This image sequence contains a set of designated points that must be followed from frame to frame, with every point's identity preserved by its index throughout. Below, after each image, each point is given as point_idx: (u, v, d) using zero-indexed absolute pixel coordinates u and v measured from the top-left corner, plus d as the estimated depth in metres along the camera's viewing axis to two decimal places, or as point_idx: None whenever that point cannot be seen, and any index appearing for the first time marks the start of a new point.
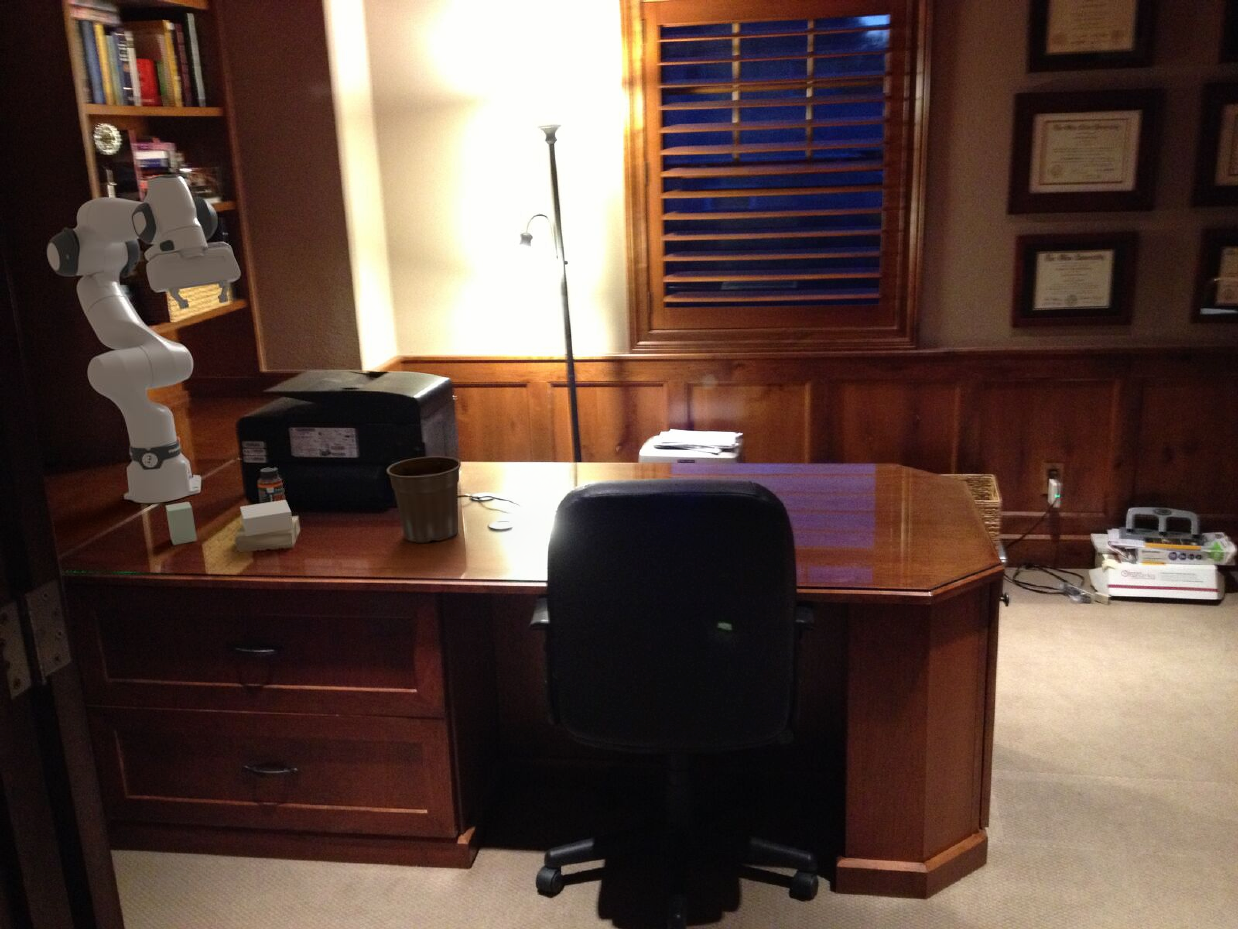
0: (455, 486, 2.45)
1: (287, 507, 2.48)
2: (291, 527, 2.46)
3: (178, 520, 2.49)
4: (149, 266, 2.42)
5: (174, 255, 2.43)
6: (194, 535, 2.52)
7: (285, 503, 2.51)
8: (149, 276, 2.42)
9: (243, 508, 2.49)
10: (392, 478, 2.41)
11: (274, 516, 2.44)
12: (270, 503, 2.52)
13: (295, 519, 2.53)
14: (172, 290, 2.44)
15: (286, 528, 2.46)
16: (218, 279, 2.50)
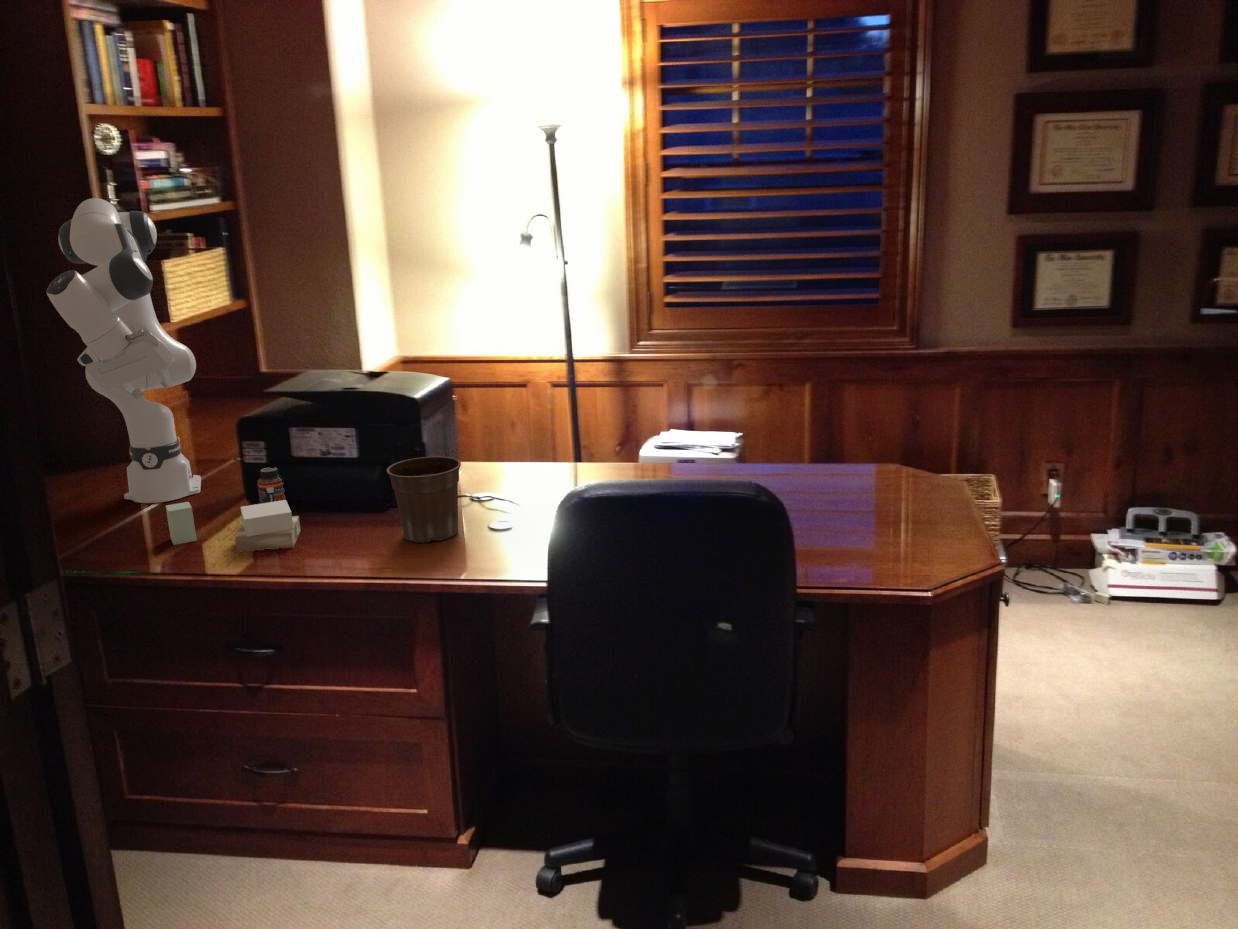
0: (455, 486, 2.45)
1: (287, 507, 2.48)
2: (291, 527, 2.46)
3: (178, 520, 2.49)
4: None
5: (98, 364, 2.36)
6: (194, 535, 2.52)
7: (285, 503, 2.51)
8: None
9: (243, 508, 2.49)
10: (392, 478, 2.41)
11: (275, 517, 2.44)
12: (270, 503, 2.52)
13: (295, 519, 2.53)
14: None
15: (286, 528, 2.46)
16: (149, 373, 2.37)
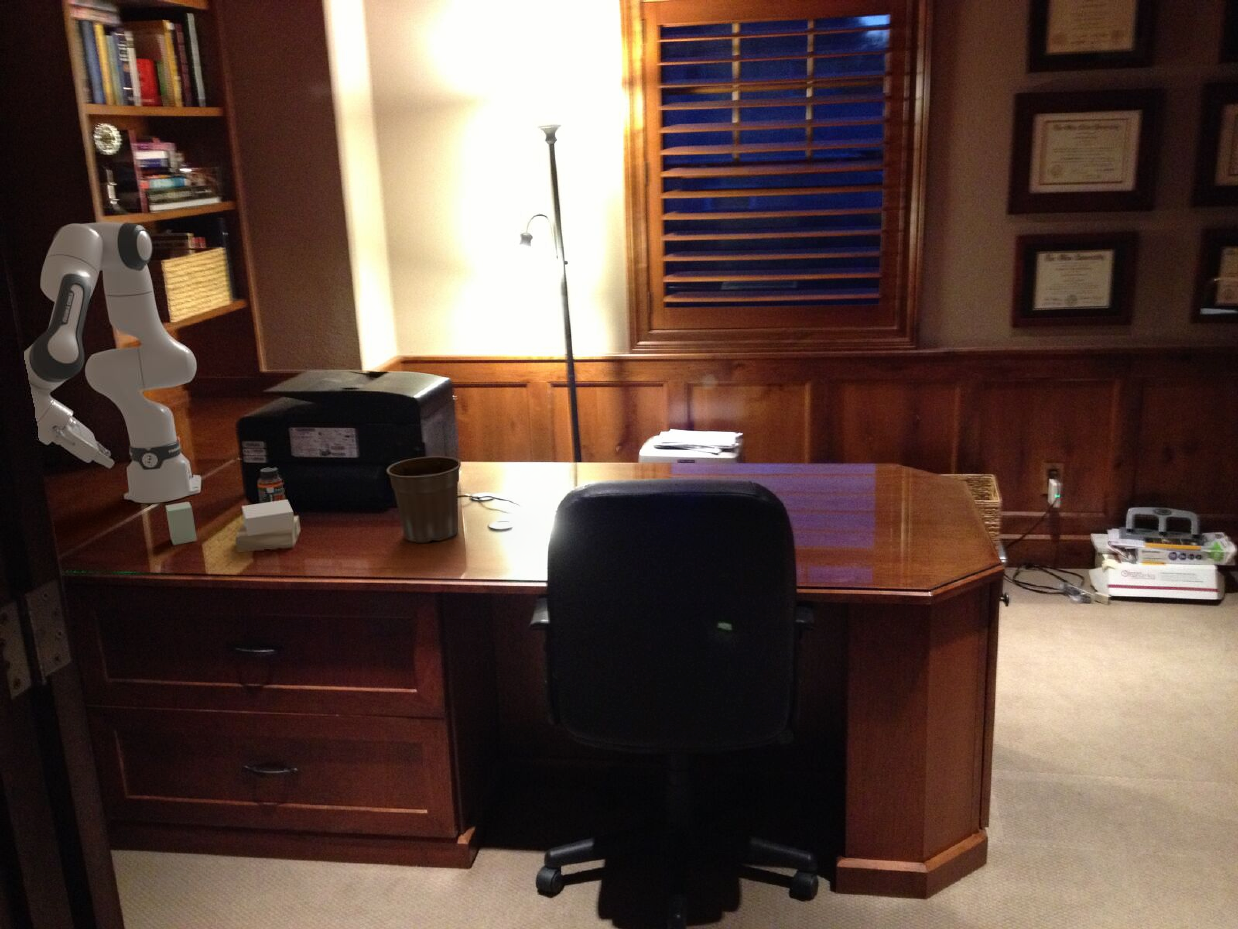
0: (455, 486, 2.45)
1: (289, 507, 2.48)
2: (293, 527, 2.46)
3: (178, 520, 2.49)
4: None
5: None
6: (194, 535, 2.52)
7: (287, 503, 2.51)
8: None
9: (245, 507, 2.49)
10: (392, 478, 2.41)
11: (276, 516, 2.44)
12: (272, 503, 2.52)
13: (295, 519, 2.53)
14: None
15: (288, 528, 2.46)
16: None
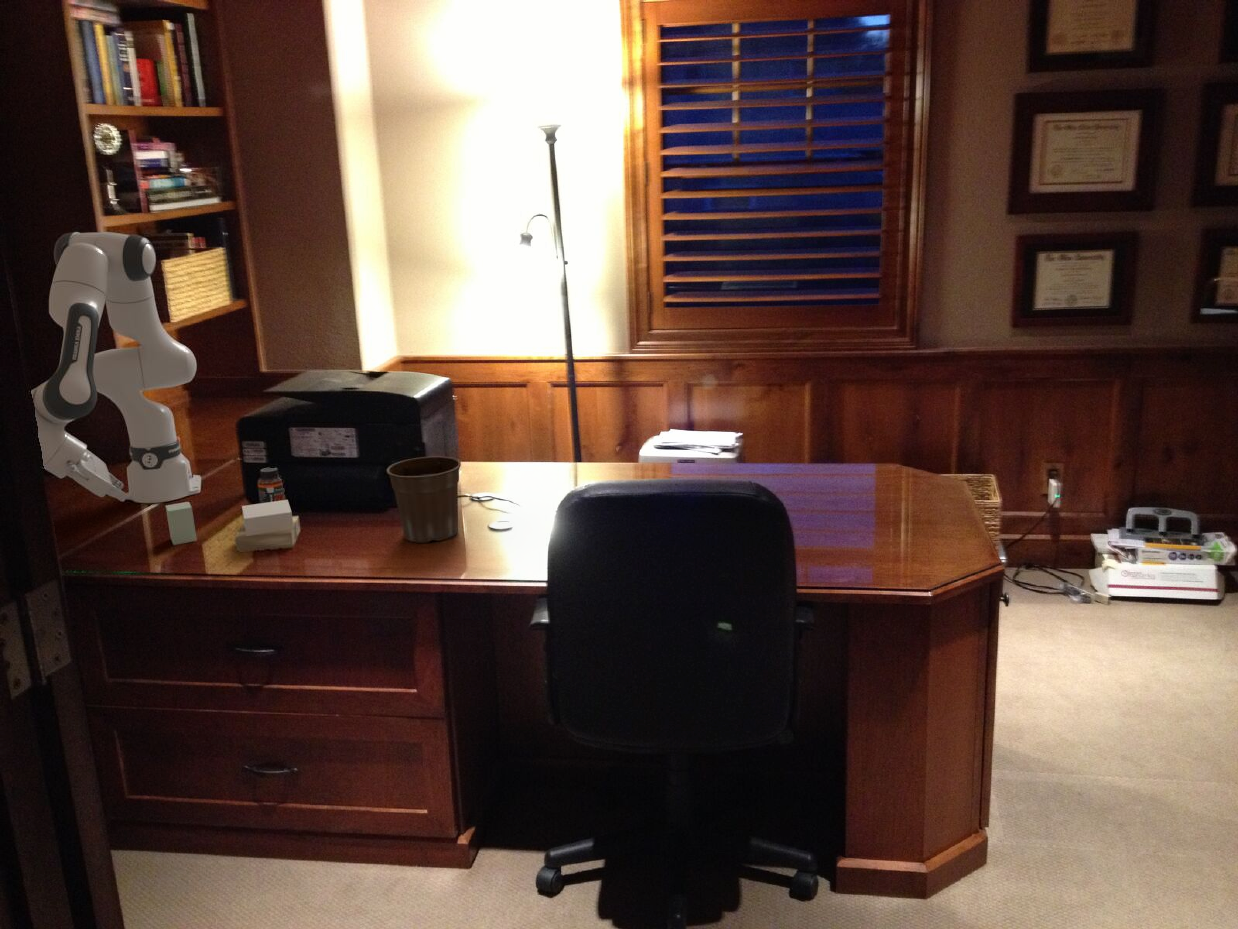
0: (455, 486, 2.45)
1: (288, 507, 2.48)
2: (291, 527, 2.46)
3: (178, 520, 2.49)
4: None
5: None
6: (194, 535, 2.52)
7: (286, 503, 2.51)
8: None
9: (245, 507, 2.49)
10: (392, 478, 2.41)
11: (275, 516, 2.44)
12: (272, 503, 2.52)
13: (295, 519, 2.53)
14: None
15: (286, 528, 2.46)
16: None
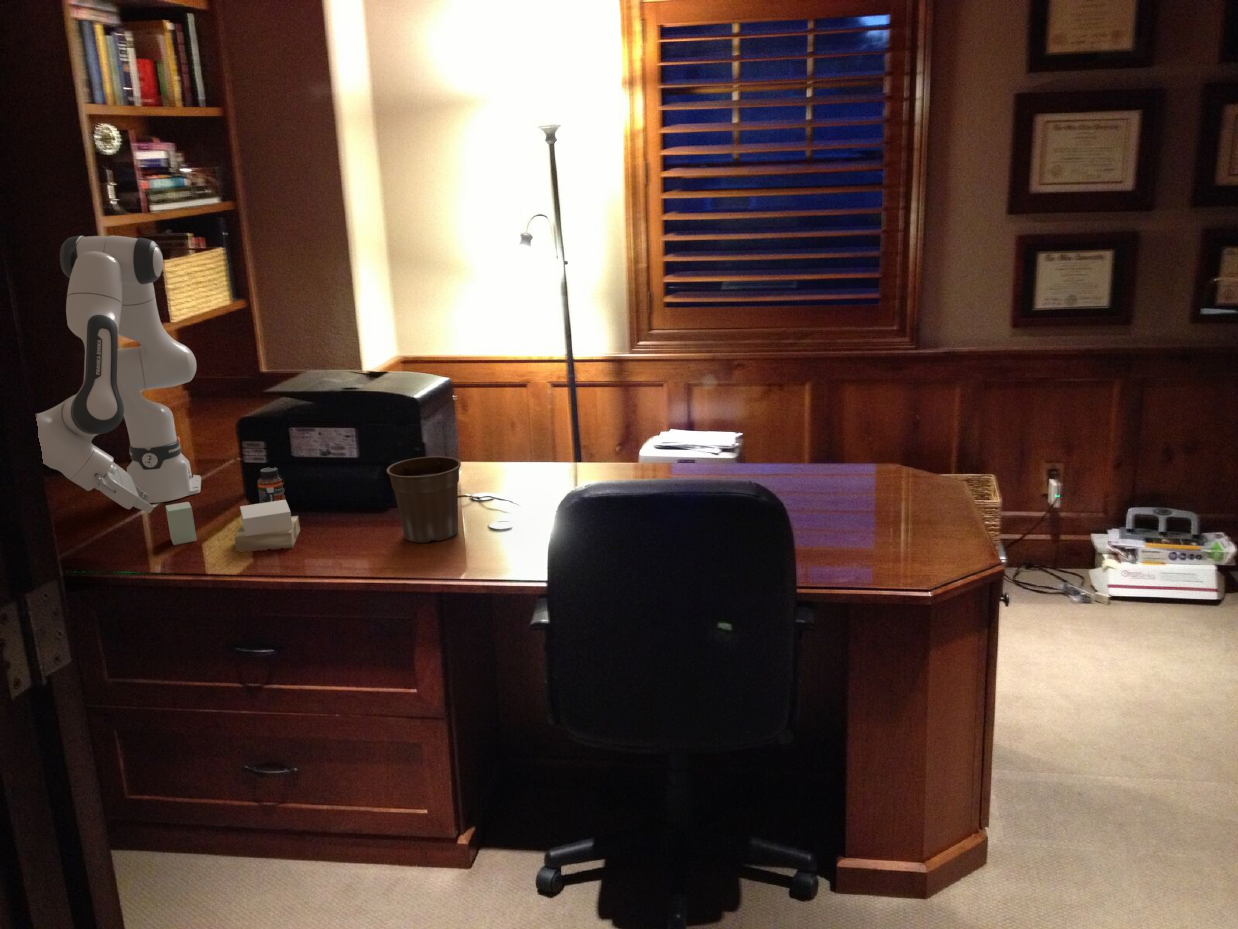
0: (455, 486, 2.45)
1: (286, 507, 2.49)
2: (290, 527, 2.46)
3: (178, 520, 2.49)
4: None
5: None
6: (194, 535, 2.52)
7: (285, 503, 2.52)
8: None
9: (243, 508, 2.49)
10: (392, 478, 2.41)
11: (274, 516, 2.44)
12: (270, 503, 2.52)
13: (295, 519, 2.53)
14: None
15: (285, 528, 2.46)
16: None
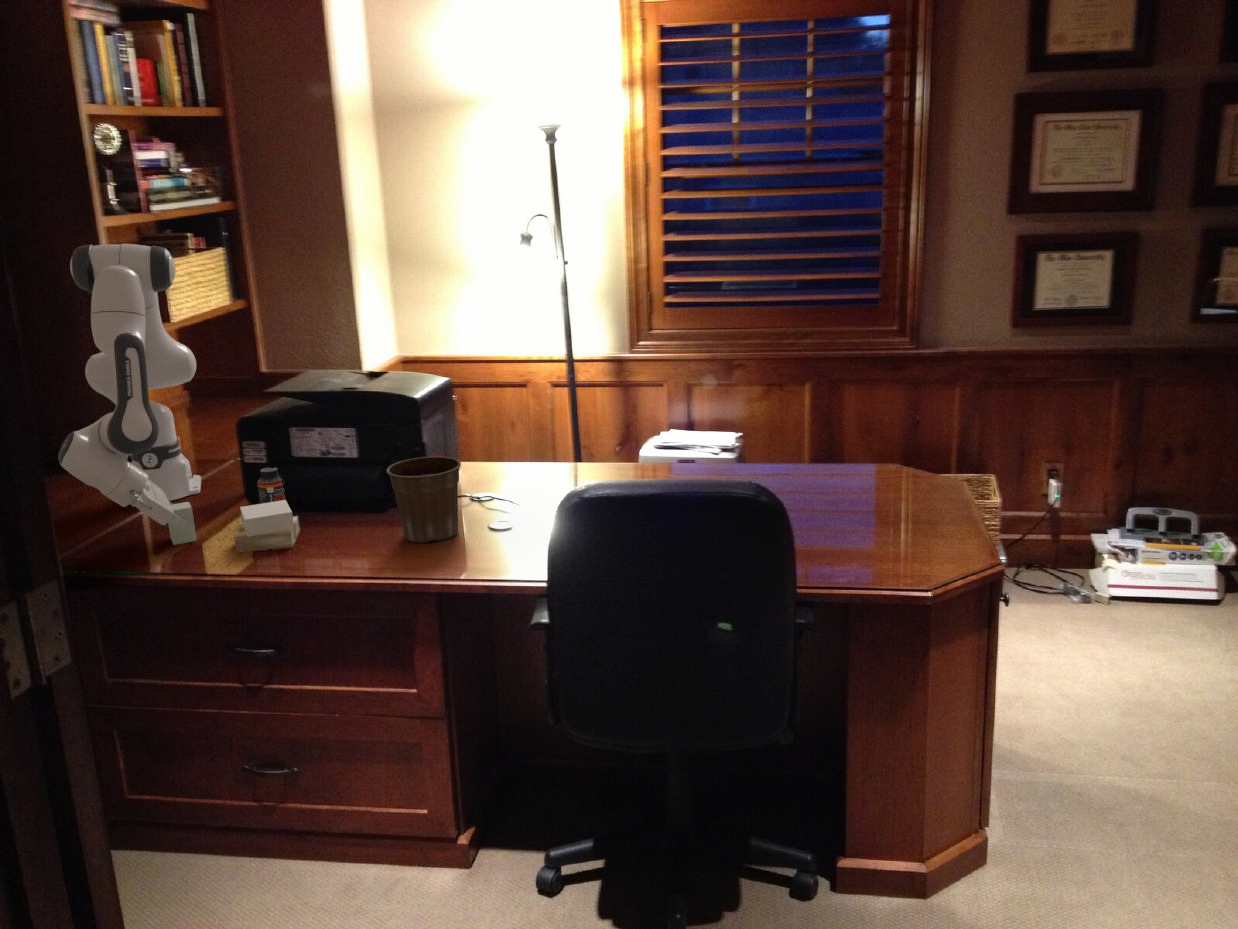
0: (455, 486, 2.45)
1: (287, 507, 2.48)
2: (292, 527, 2.46)
3: None
4: None
5: None
6: (194, 535, 2.52)
7: (285, 503, 2.51)
8: None
9: (243, 508, 2.49)
10: (392, 478, 2.41)
11: (275, 517, 2.44)
12: (270, 503, 2.52)
13: (295, 519, 2.53)
14: None
15: (287, 528, 2.46)
16: None
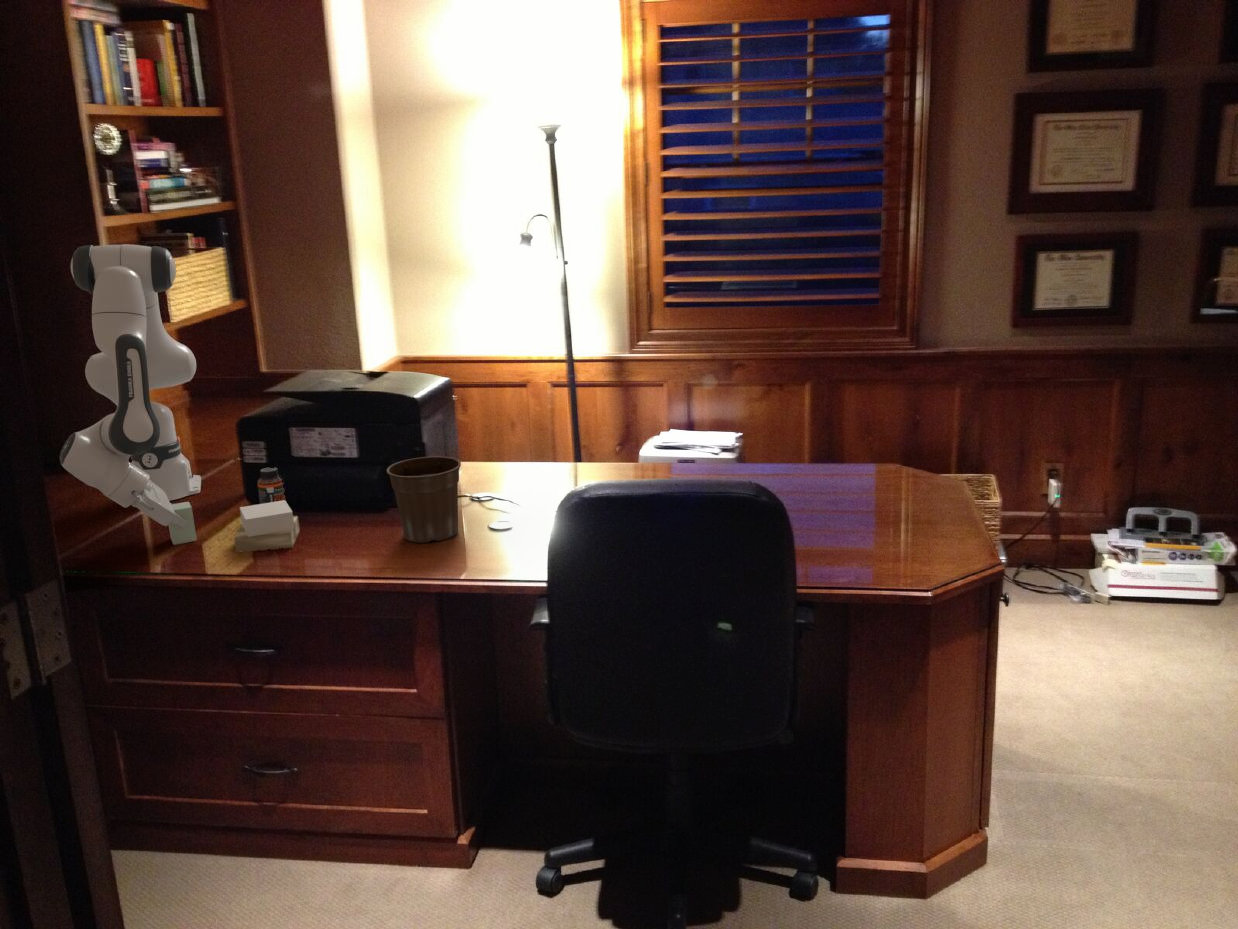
0: (455, 486, 2.45)
1: (287, 507, 2.48)
2: (292, 527, 2.46)
3: None
4: None
5: None
6: (194, 535, 2.52)
7: (285, 503, 2.51)
8: None
9: (243, 509, 2.49)
10: (392, 478, 2.41)
11: (276, 517, 2.44)
12: (270, 503, 2.52)
13: (294, 519, 2.53)
14: None
15: (287, 528, 2.46)
16: None
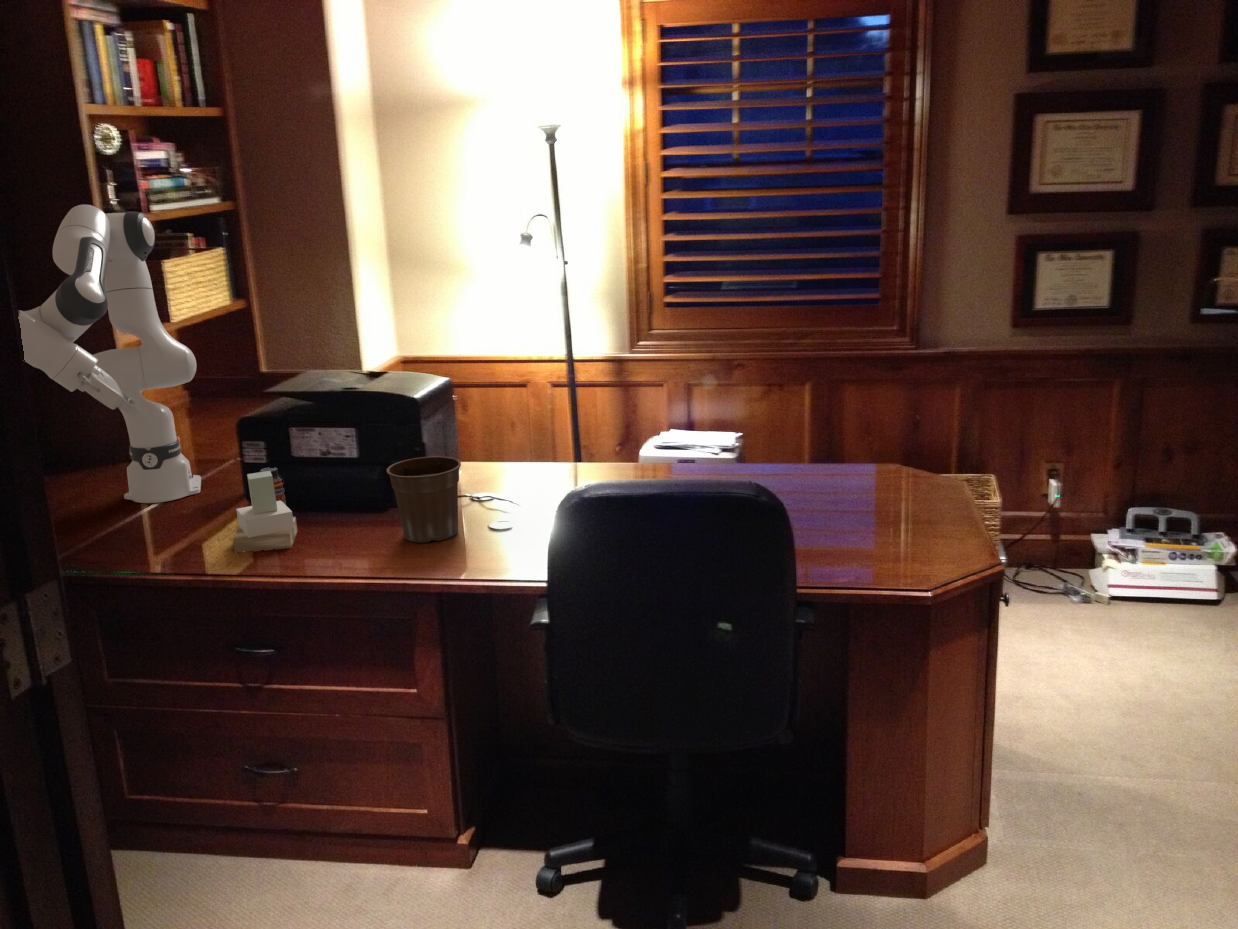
0: (455, 486, 2.45)
1: (286, 507, 2.49)
2: (292, 527, 2.47)
3: (259, 488, 2.44)
4: None
5: None
6: (275, 504, 2.46)
7: (282, 503, 2.52)
8: None
9: (240, 510, 2.48)
10: (392, 478, 2.41)
11: (276, 517, 2.44)
12: None
13: None
14: None
15: (287, 528, 2.46)
16: None
